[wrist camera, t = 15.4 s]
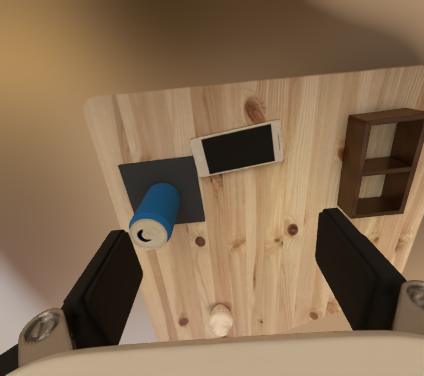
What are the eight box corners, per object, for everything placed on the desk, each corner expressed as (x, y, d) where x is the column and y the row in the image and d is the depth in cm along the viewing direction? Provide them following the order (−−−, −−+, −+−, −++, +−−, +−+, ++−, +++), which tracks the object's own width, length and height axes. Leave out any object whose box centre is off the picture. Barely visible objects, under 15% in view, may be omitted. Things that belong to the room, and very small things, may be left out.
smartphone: (189, 139, 39) (188, 140, 39) (279, 118, 38) (280, 119, 37) (199, 176, 43) (199, 178, 42) (282, 158, 41) (284, 160, 40)
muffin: (211, 316, 61) (210, 344, 55) (206, 301, 58) (205, 329, 52) (233, 314, 60) (236, 342, 54) (230, 299, 58) (232, 326, 51)
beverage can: (141, 190, 44) (116, 228, 33) (169, 175, 42) (153, 210, 31) (160, 215, 46) (143, 257, 35) (187, 202, 45) (178, 242, 34)
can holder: (348, 115, 37) (366, 121, 33) (406, 108, 37) (432, 112, 32) (337, 204, 45) (350, 219, 40) (384, 199, 44) (403, 213, 40)
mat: (119, 165, 42) (118, 165, 41) (193, 155, 41) (193, 156, 40) (139, 226, 48) (139, 228, 48) (205, 219, 47) (204, 221, 47)
